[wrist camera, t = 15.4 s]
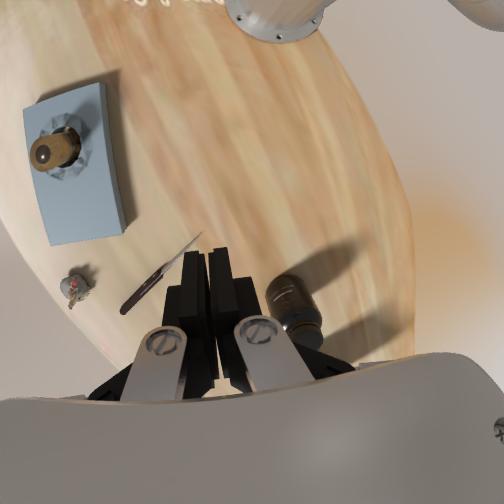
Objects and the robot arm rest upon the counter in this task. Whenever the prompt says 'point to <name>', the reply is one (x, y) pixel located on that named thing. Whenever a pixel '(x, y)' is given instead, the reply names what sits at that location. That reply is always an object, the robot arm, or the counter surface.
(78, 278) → the figurine
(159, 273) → the kitchen knife
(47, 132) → the plate
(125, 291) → the counter surface
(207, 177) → the counter surface
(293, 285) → the supplement bottle
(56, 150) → the amber peg
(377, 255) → the counter surface
